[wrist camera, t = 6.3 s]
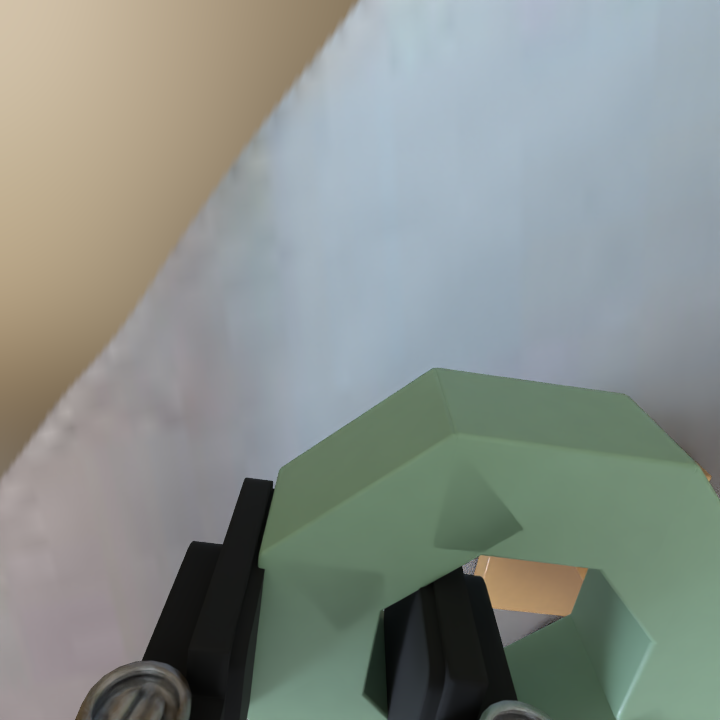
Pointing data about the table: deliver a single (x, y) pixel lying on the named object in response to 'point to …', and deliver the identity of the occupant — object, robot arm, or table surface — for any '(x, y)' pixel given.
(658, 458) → the ring
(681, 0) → the table surface
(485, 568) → the post
